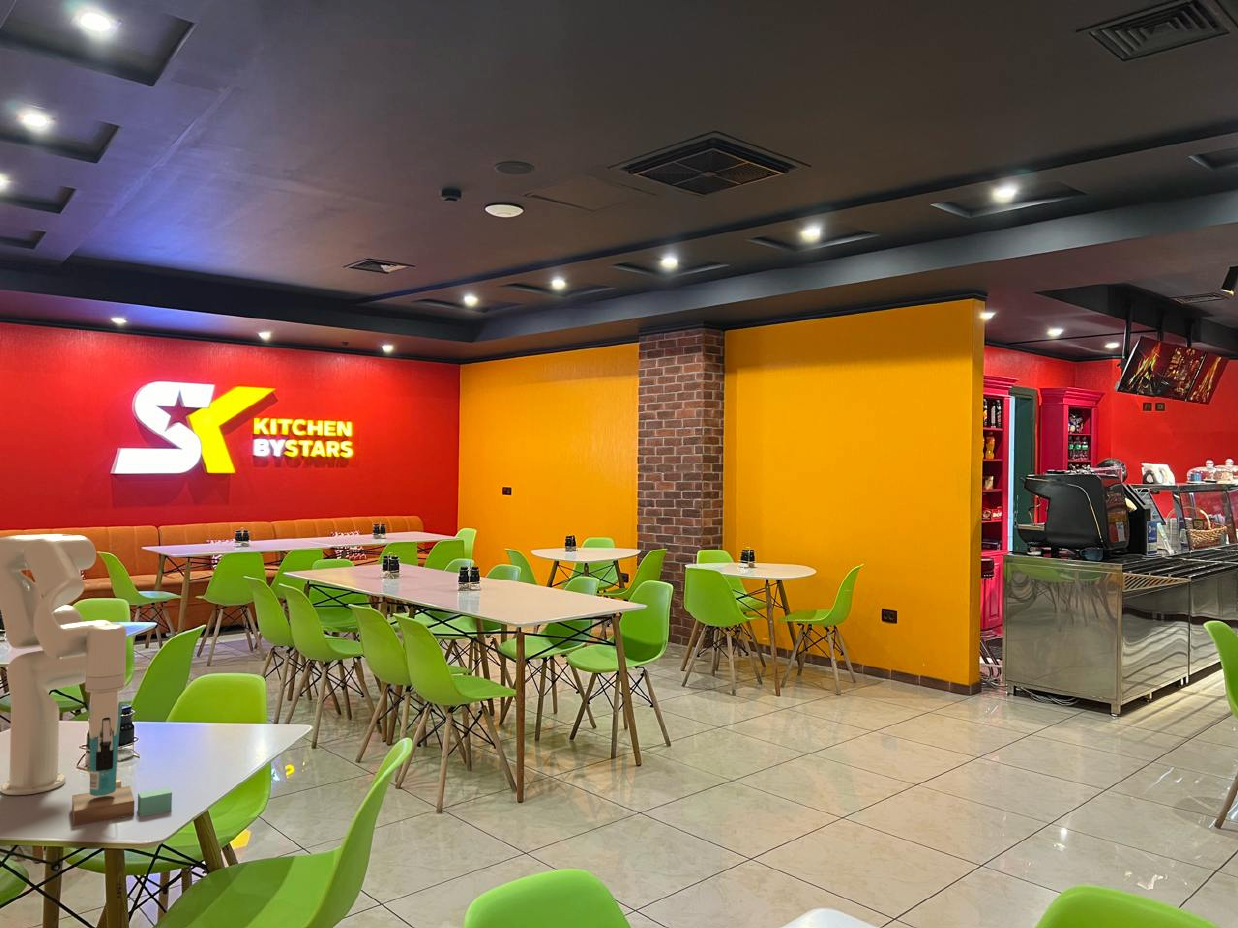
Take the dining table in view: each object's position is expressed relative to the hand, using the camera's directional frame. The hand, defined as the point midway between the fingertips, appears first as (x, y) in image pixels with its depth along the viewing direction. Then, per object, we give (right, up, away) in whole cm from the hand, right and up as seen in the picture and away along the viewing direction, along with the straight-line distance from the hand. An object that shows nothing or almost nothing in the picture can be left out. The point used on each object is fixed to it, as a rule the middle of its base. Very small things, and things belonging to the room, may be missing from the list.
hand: (103, 765), depth 189 cm
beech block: (-4, -10, +9) cm, 14 cm away
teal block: (+11, -10, +1) cm, 15 cm away
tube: (0, -6, 0) cm, 6 cm away
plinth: (0, -10, 0) cm, 10 cm away
